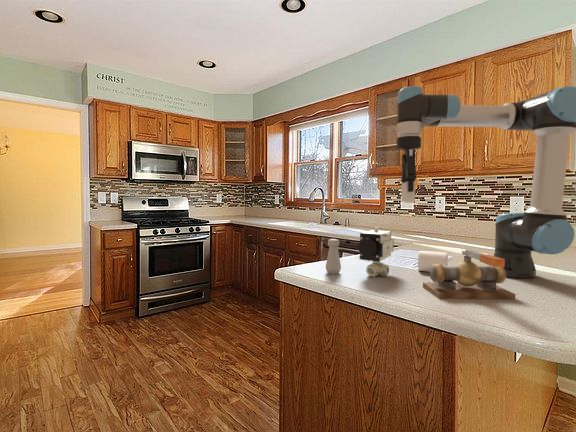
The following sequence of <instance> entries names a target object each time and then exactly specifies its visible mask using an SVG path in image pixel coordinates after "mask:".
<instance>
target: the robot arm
mask: <svg viewBox="0 0 576 432" xmlns="http://www.w3.org/2000/svg"><path fill="white" fill-rule="evenodd" d="M461 103H462V102H461V99H460V96H458V95H456V94H425V93H424V92H423V88H422V87H421V86H417V85H410V86H405V87H402V88H401V89H399V91H398V92H397V103H396V109H397V112H396V113H397V114H396V115H397V117H396V120H397V121H396V124H397V125H396V126H395V128H394V130H395V131H396V137H397V139H396V150H399V151H403V154H402V155H401V167H402V168H401V178H400V180H401V194H400V195H401V199H400V200H401V201H400V202H403V203H405V204H407V203H409V204H410V203H411V204H413V203H415V202H416V201H415V199H416V198H415V197H416V179H417V168H416V167H417V166H416V157H417V155H416V150H419V149H421V148H422V137H421V136H422V130H423V129H422V128H425V127H432V128H433V127H465V128H467V127H470V128H471V127H472V128H480V127H481V128H483V127H484V128H499V129H500V130H503V131H526V132H527V131H530V132H531V131H532V134H534V135H535V136H536V138H537V139H536V145H535V146H536V148H535V155H534V167H533V173H532V174H533V177H532V185H531V192H530V193H531V194H530V201H529V202H530V203H529V207H528V209H525V210H524V211H523V212H509V213H500V214H498V215H497V216H496V219H495V223H494V225H495V233H494V234H495V237H494V239H495V240H494V253H493V254H492V255H493V256H496V257H499V258H502V259H505V264H504V269H505V271H506V278H513V279H533V278H536V277H537V269H536V266H535V263H534V259H533V257H532V252H535V253H538V254H541V255H542V254H544V255H557V254H561V253H563V252H564V251H566V250H568V249H569V248H570V246H571V245H572V244H573V241H574V239H575V229H574V227H573V225H572V224H571V223H570V222H569V221H568V220H567V218H568V214H567V213H566V212H565V211H564V210H563V201H564V191H565V185H566V184H565V181H566V172H567V164H568V154H569V144H570V137H571V135H573V133H575V132H576V86H572V85H566V86H562V87H556V88H554V89H552V90H550V91H548V92H544V93H542V94H539V95H536V96H533V97H531V98H527V99H524V100H520V101H517V102H516V101H515V102H506V103H504V104H502V105H498V104H497V105H495V104H494V105H492V104H491V105H485V104H484V105H483V104H481V105H480V104H477V105H476V104H475V105H474V104H472V105H471V104H461ZM488 266H491V265H488Z"/></svg>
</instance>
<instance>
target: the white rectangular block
mask: <svg viewBox="0 0 576 432" xmlns="http://www.w3.org/2000/svg"><path fill="white" fill-rule="evenodd" d="M448 263H449V254H448V252H442V251H428V250H419V252H418V258H417V269H418V272H424V273H430V267H431V266H432V264H441V265H442V266H449V265H448Z"/></svg>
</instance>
